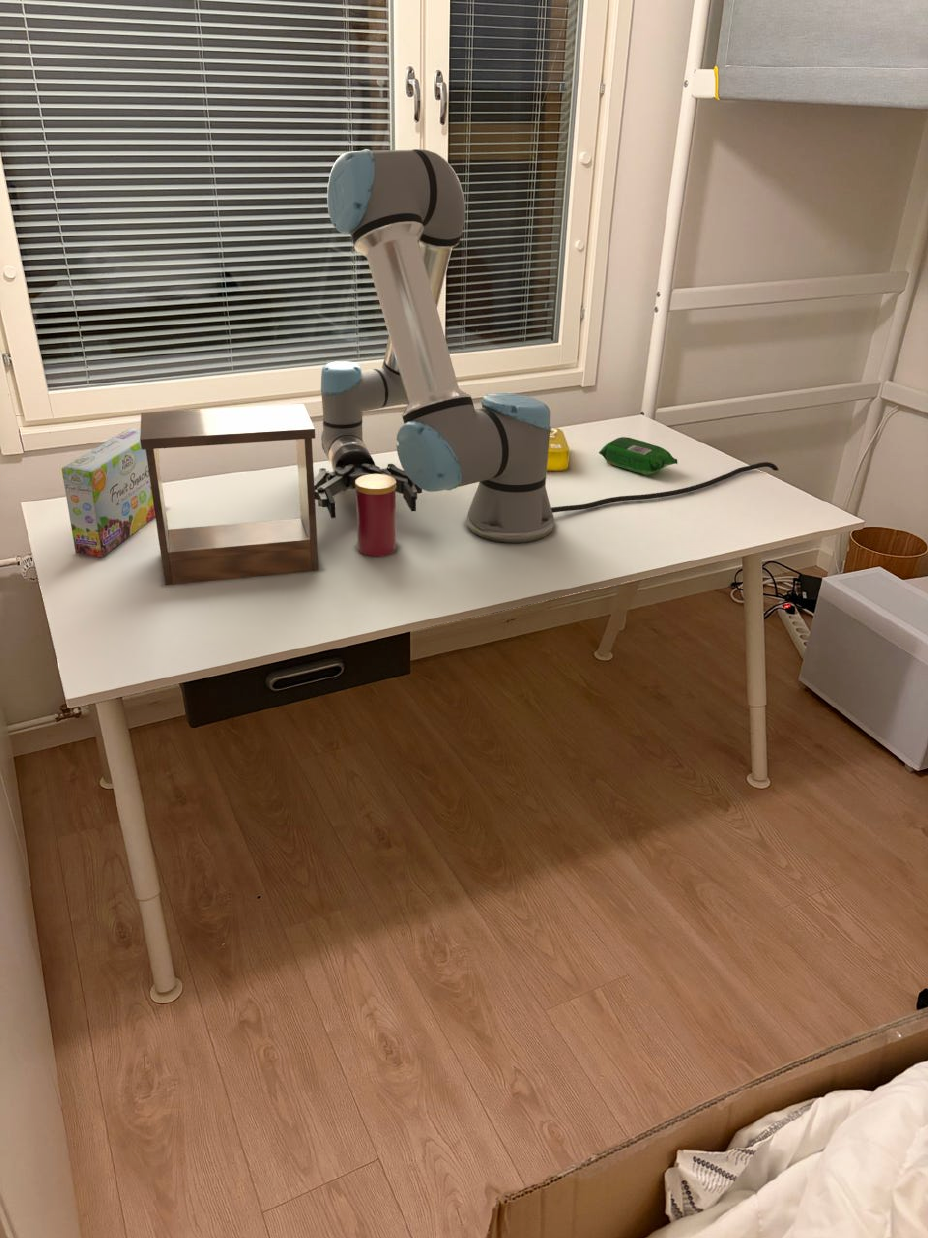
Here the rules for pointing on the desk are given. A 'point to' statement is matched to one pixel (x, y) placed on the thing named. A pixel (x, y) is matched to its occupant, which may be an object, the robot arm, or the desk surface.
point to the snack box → (108, 494)
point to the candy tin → (376, 514)
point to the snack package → (636, 455)
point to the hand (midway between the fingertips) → (374, 507)
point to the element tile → (557, 451)
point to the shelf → (245, 543)
